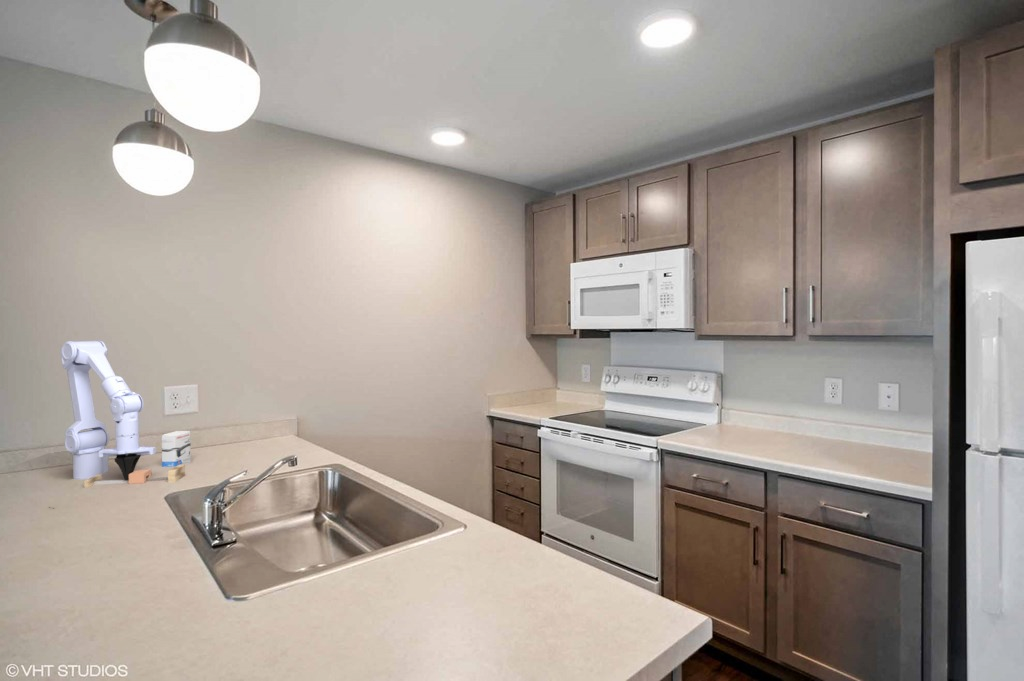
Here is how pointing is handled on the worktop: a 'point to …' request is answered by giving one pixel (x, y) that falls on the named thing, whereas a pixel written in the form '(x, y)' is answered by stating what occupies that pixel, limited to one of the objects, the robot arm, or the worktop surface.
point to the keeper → (139, 476)
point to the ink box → (176, 448)
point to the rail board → (172, 477)
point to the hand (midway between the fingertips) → (128, 478)
